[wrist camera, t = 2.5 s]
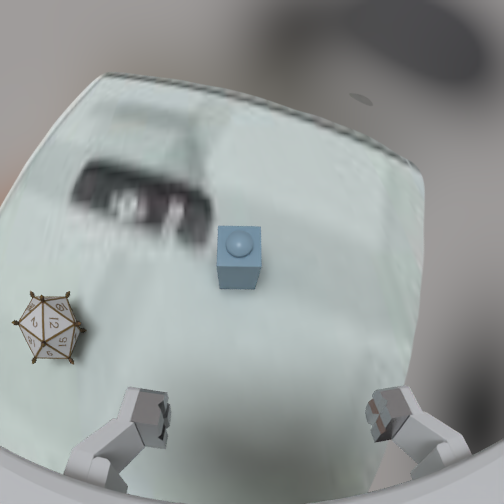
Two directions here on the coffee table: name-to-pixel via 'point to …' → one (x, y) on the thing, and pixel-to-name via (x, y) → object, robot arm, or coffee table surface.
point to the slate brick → (238, 256)
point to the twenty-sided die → (50, 327)
